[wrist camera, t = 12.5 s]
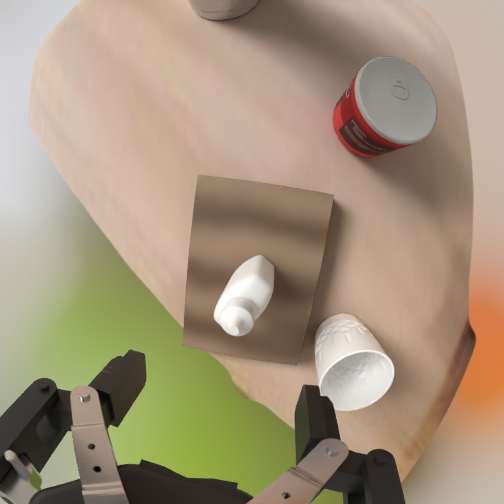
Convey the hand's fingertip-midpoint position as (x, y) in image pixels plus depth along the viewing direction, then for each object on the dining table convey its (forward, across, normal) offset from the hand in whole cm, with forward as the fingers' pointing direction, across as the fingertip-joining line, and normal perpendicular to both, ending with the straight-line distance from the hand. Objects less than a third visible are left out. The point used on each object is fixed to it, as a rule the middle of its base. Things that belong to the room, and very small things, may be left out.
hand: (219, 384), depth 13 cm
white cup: (+21, -12, +7) cm, 25 cm away
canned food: (+21, -10, -19) cm, 30 cm away
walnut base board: (+21, 0, 0) cm, 21 cm away
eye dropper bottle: (+18, 0, 0) cm, 18 cm away
